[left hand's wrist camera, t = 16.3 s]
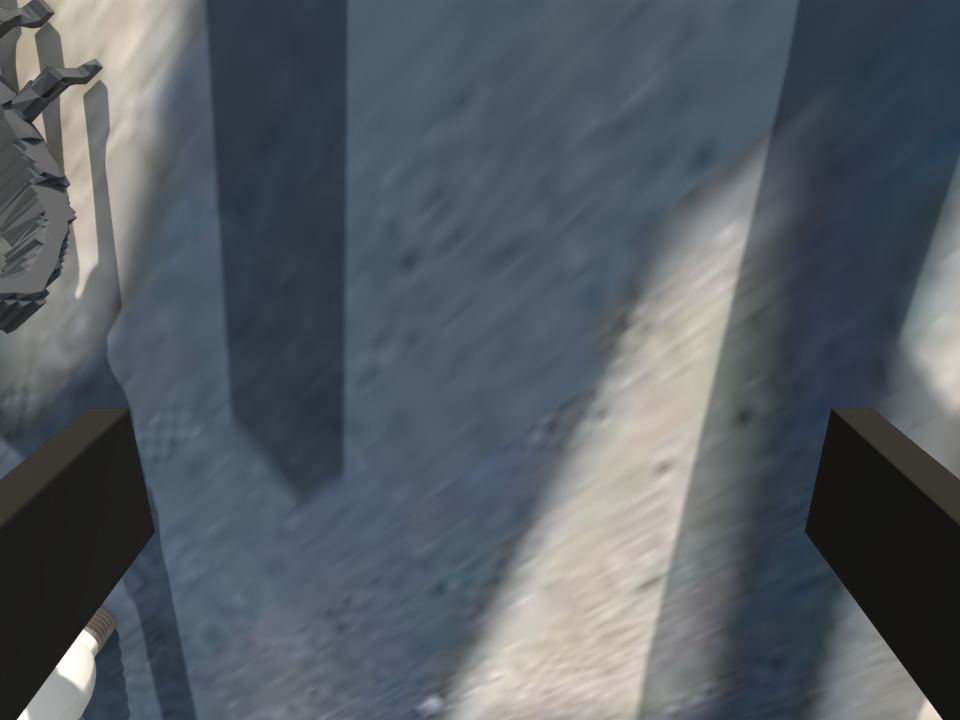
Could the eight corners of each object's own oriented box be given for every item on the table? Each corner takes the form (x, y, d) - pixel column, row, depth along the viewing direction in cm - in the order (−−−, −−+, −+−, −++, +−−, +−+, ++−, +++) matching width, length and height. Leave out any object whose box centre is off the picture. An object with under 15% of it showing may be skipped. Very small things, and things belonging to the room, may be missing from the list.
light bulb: (115, 584, 52) (26, 705, 42) (143, 651, 55) (65, 780, 45) (31, 594, 53) (-77, 716, 42) (62, 659, 55) (-32, 790, 45)
